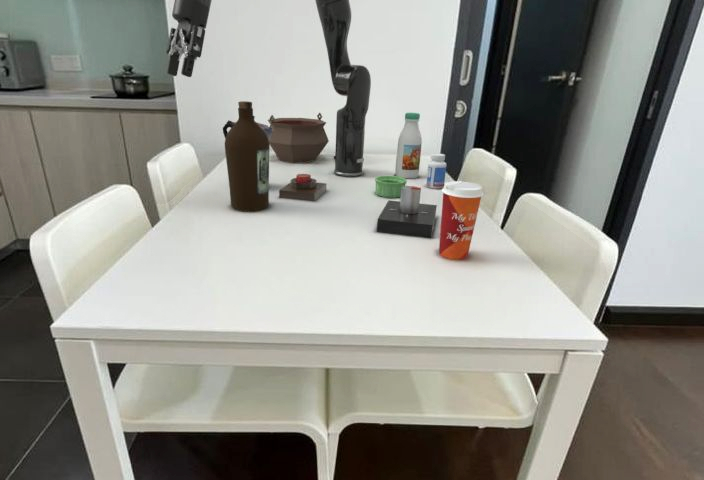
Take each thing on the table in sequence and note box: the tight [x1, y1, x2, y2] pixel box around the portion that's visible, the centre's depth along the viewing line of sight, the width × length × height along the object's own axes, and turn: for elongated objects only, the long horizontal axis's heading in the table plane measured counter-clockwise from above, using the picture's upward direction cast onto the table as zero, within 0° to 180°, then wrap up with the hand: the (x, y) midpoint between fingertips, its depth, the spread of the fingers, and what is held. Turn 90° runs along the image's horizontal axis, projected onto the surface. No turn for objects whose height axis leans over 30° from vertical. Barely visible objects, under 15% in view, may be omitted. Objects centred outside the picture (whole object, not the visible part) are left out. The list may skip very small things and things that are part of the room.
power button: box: [295, 173, 312, 182], centre depth 128 cm, size 4×4×2 cm
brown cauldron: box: [267, 112, 330, 164], centre depth 172 cm, size 24×24×16 cm
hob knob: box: [399, 185, 422, 214], centre depth 107 cm, size 4×4×6 cm
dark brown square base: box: [278, 177, 327, 202], centre depth 129 cm, size 12×10×4 cm
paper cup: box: [438, 180, 485, 261], centre depth 90 cm, size 8×8×14 cm
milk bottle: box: [394, 112, 423, 179], centre depth 150 cm, size 8×8×20 cm
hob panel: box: [376, 199, 438, 239], centre depth 109 cm, size 16×12×3 cm
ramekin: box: [374, 175, 408, 199], centre depth 132 cm, size 9×9×4 cm
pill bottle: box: [425, 153, 447, 190], centre depth 141 cm, size 6×5×10 cm
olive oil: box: [224, 100, 271, 212], centre depth 113 cm, size 11×11×25 cm
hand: (178, 75), depth 107 cm, fingers open, 8 cm apart
